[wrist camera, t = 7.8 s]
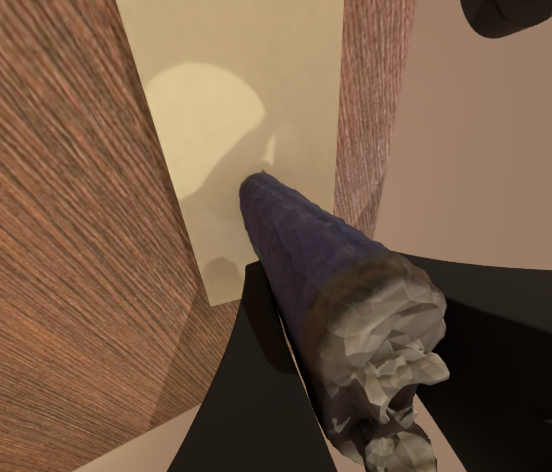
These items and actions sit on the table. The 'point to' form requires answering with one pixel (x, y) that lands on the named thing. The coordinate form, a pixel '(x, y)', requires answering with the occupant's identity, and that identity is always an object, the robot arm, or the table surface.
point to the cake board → (238, 110)
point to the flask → (350, 324)
